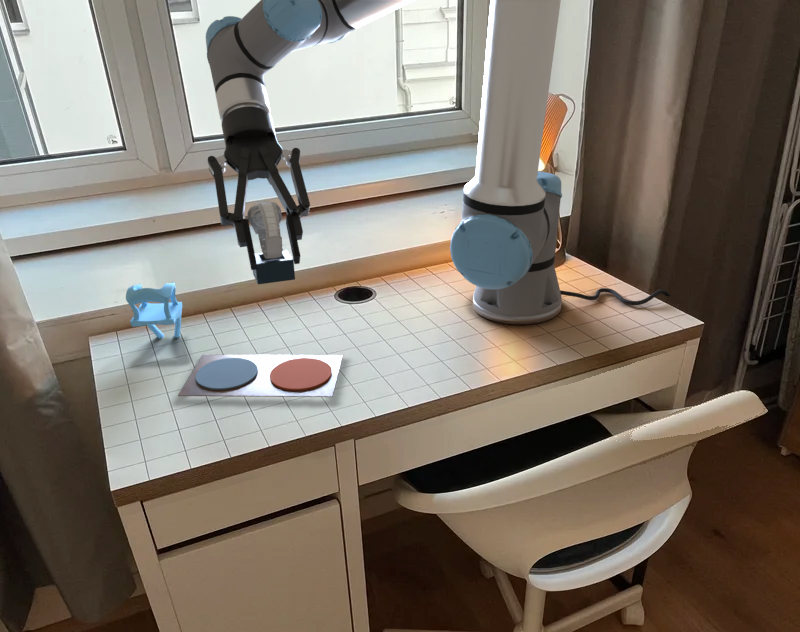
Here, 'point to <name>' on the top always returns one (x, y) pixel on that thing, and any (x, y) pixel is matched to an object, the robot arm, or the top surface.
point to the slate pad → (226, 373)
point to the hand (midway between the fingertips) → (275, 262)
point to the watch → (270, 244)
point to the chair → (155, 308)
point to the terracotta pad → (300, 374)
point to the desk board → (264, 378)
